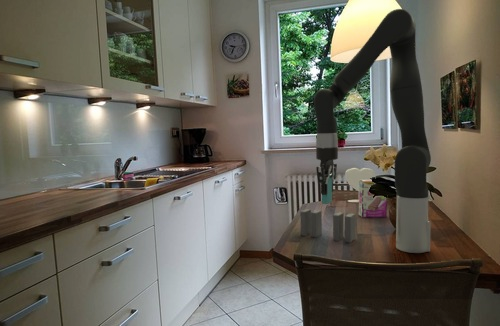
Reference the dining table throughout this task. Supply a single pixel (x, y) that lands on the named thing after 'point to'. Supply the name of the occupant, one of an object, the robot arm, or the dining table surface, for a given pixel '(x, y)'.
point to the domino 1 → (305, 222)
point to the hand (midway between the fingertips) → (327, 193)
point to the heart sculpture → (358, 178)
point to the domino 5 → (349, 228)
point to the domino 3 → (328, 192)
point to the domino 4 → (338, 226)
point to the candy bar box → (370, 202)
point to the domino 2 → (316, 223)
